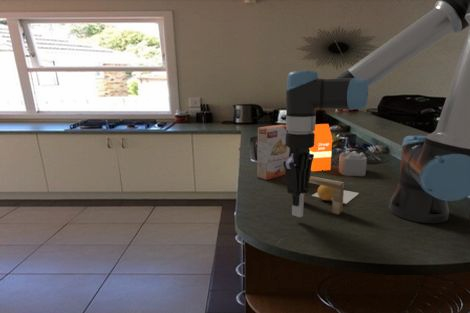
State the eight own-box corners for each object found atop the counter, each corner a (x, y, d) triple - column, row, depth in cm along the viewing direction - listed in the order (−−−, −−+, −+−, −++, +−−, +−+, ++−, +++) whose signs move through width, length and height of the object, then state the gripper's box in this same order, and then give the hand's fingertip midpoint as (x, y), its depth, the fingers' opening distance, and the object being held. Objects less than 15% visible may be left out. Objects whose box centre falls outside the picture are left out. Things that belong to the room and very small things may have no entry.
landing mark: (359, 193, 110) (359, 193, 110) (346, 204, 101) (346, 203, 101) (326, 187, 117) (326, 186, 117) (311, 196, 108) (311, 195, 108)
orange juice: (330, 169, 139) (333, 124, 135) (312, 171, 138) (314, 125, 133) (322, 165, 147) (324, 122, 142) (304, 166, 145) (306, 123, 140)
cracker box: (267, 181, 125) (267, 128, 120) (256, 177, 130) (256, 127, 125) (289, 174, 134) (291, 125, 129) (279, 171, 139) (279, 123, 134)
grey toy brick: (341, 175, 131) (342, 155, 129) (336, 167, 144) (337, 148, 142) (367, 176, 129) (369, 155, 127) (360, 168, 142) (361, 149, 140)
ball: (330, 202, 100) (336, 200, 105) (331, 185, 100) (337, 184, 104) (314, 199, 104) (320, 197, 108) (315, 183, 103) (321, 181, 108)
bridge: (299, 200, 104) (300, 174, 102) (342, 211, 95) (344, 182, 93) (294, 203, 102) (295, 176, 100) (338, 214, 93) (340, 184, 91)
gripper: (299, 127, 90) (296, 205, 95) (274, 133, 80) (273, 219, 86) (324, 129, 85) (320, 211, 91) (301, 136, 76) (298, 227, 81)
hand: (297, 215), depth 88 cm, fingers closed
